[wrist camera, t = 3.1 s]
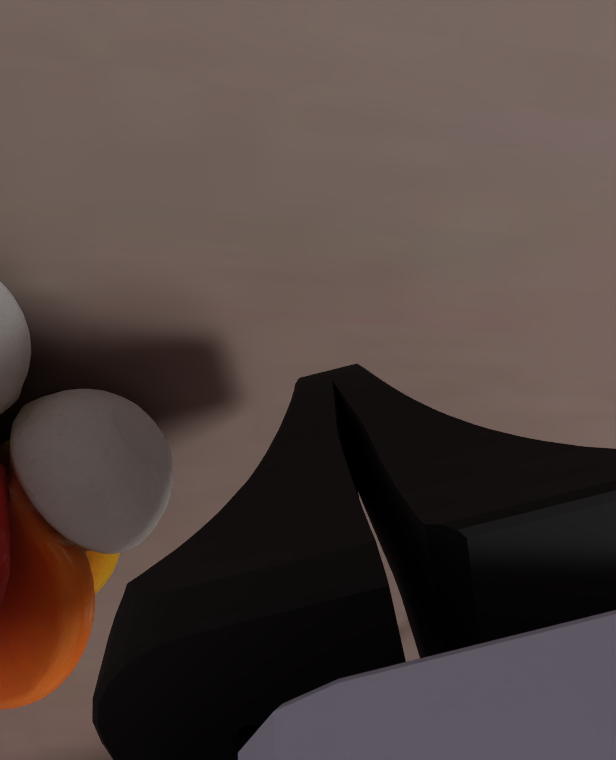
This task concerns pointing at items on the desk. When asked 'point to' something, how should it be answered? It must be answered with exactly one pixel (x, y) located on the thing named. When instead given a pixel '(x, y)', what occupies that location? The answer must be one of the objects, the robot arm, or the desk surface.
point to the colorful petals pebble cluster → (65, 513)
